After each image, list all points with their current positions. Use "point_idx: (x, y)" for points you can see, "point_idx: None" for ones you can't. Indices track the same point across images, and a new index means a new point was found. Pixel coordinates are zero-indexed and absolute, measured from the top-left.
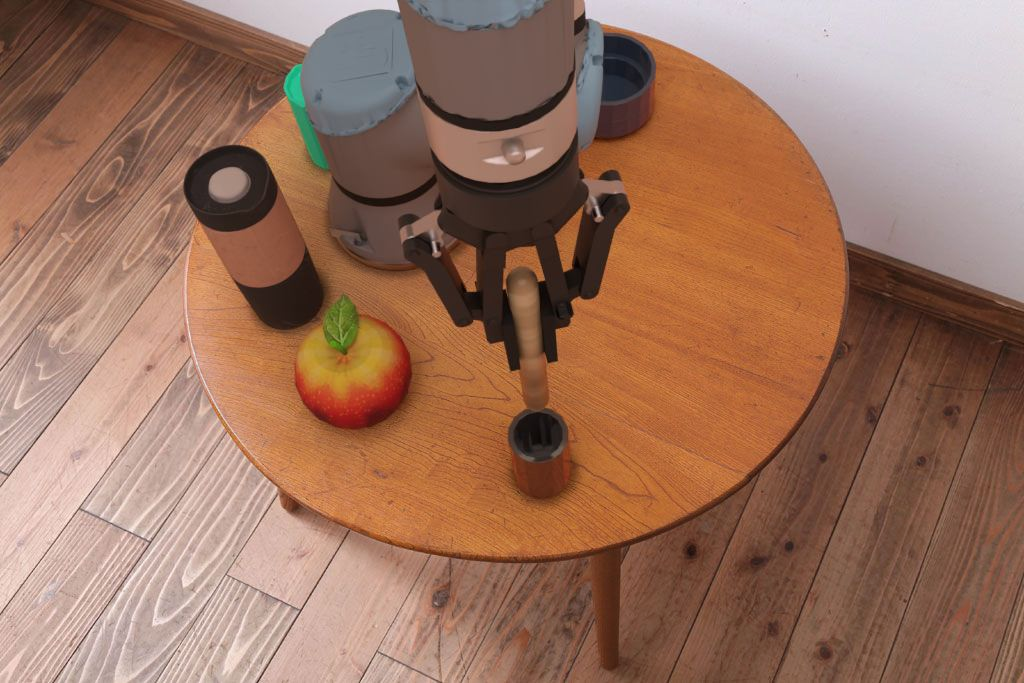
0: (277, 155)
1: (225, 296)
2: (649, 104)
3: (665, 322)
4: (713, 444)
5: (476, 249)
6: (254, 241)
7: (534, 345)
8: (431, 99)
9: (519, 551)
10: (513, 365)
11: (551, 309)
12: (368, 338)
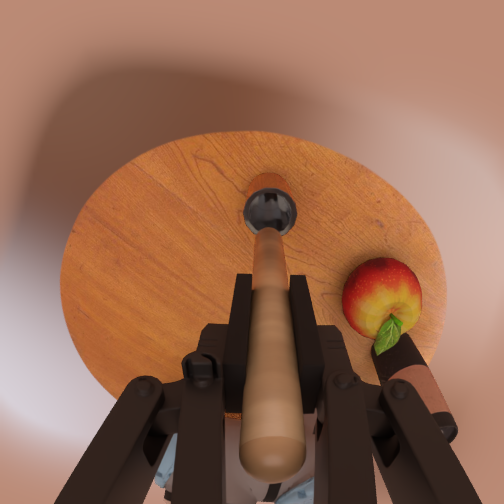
0: None
1: (420, 353)
2: None
3: (158, 279)
4: (144, 186)
5: None
6: (427, 401)
7: (266, 306)
8: None
9: (300, 139)
10: (301, 283)
11: (225, 373)
12: (374, 322)
